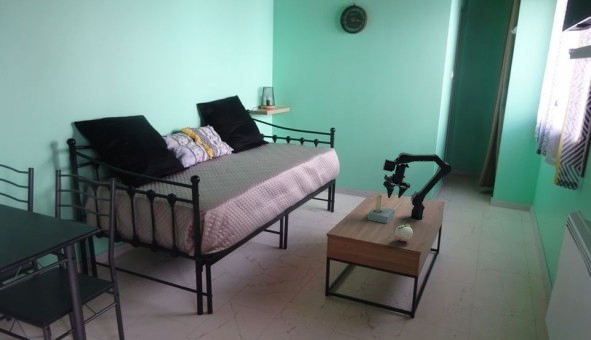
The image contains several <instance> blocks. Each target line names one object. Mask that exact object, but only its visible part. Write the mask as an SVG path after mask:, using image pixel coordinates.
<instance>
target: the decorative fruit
mask: <svg viewBox="0 0 591 340" xmlns="http://www.w3.org/2000/svg"><path fill="white" fill-rule="evenodd" d="M411 227H412V226H411V225H410V224H403V225H399V226H396V228H395V230H394V234H395V237H396V238H397V239H398V240H399V241H400V242H406V241H408V240H410V239H411V238H412V237H413V235H414V232H413V228H411Z"/></svg>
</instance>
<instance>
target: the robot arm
mask: <svg viewBox="0 0 591 340" xmlns="http://www.w3.org/2000/svg"><path fill="white" fill-rule="evenodd" d="M413 162H414V163H415V162H416V163H417V162H423V163H424V162H426V163H427V162H429V163H430V162H432V163H433V162H434V163H435V164H437V166H438V167H437V169H436V171H435V173H434V175H433V176H432V177H431V178H430V179H429V180H428V182H427V183H426V184H424V186H422V188H421V189H420V190H419V191H418V192H417V191H416V190H415V191H414V192H413V194H412V195H410V196H411V197H410V202H411V204H412V206H413V207H412V209H411V212H410V213H411V214H410V217H411V219H416V220H421V221H422V220H423V219H424V217H425V216H424V214H425V208H426V207H425V205H424V203H423V202H425V201H424V200H425V199H426V196H427V195H428V194H429V193H430V191H431V190H432V189H433V188H434V187H435V186H436V185H437V184H438V182H439V181H440V180H441V179H443V178H444V177H446V176H447V175H449V174H450V173H451V172H452V165H450V164H449V163H448V162H445V161H443V160H442V158H441V157H440V156H439V155H438V154H436V153H433V154H413V153H409V152H400V153H399V154H398V156H397V157H396V158H394V160H391V159H387V158H385V159H384V161H383V165H382V171H386V172H390V173H392V175H389V174H384V177H383V179H384V182H383V183H382V186H384V188H386V192H387V198H388V199H390V198H391V196H392V195H393V192H394V190H395V187H398V196H397V198H398V199H401V198H402V196H403V195H404V194H405V192H406V191H407V190H409V189H410V188H411V184H410V182H406V181H404V179H406V175H405V174H406V168H407V169H410V166H409V163H413ZM393 172H394V173H393Z"/></svg>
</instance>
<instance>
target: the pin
mask: <svg viewBox="0 0 591 340" xmlns="http://www.w3.org/2000/svg"><path fill="white" fill-rule="evenodd" d="M375 207H376V208H375ZM375 207H374V208H375V212H376V213H380V209H381V207H382V195H381V194H380V195H379V194H378V195H377V194H376V199H375Z"/></svg>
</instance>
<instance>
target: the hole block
mask: <svg viewBox="0 0 591 340" xmlns="http://www.w3.org/2000/svg"><path fill="white" fill-rule="evenodd" d="M375 208H376V206H374V207H373V208H372V209H371V210H370V211H368V213H367V220H369V221H374V222H378V223H382V224H388V223H389V222H390V221H391V220H392V219H393V218H394V217H395V213H396V209H394V208H391V207H390V208H388V207H384V206H381V209H380V213H376V212H375Z"/></svg>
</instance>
